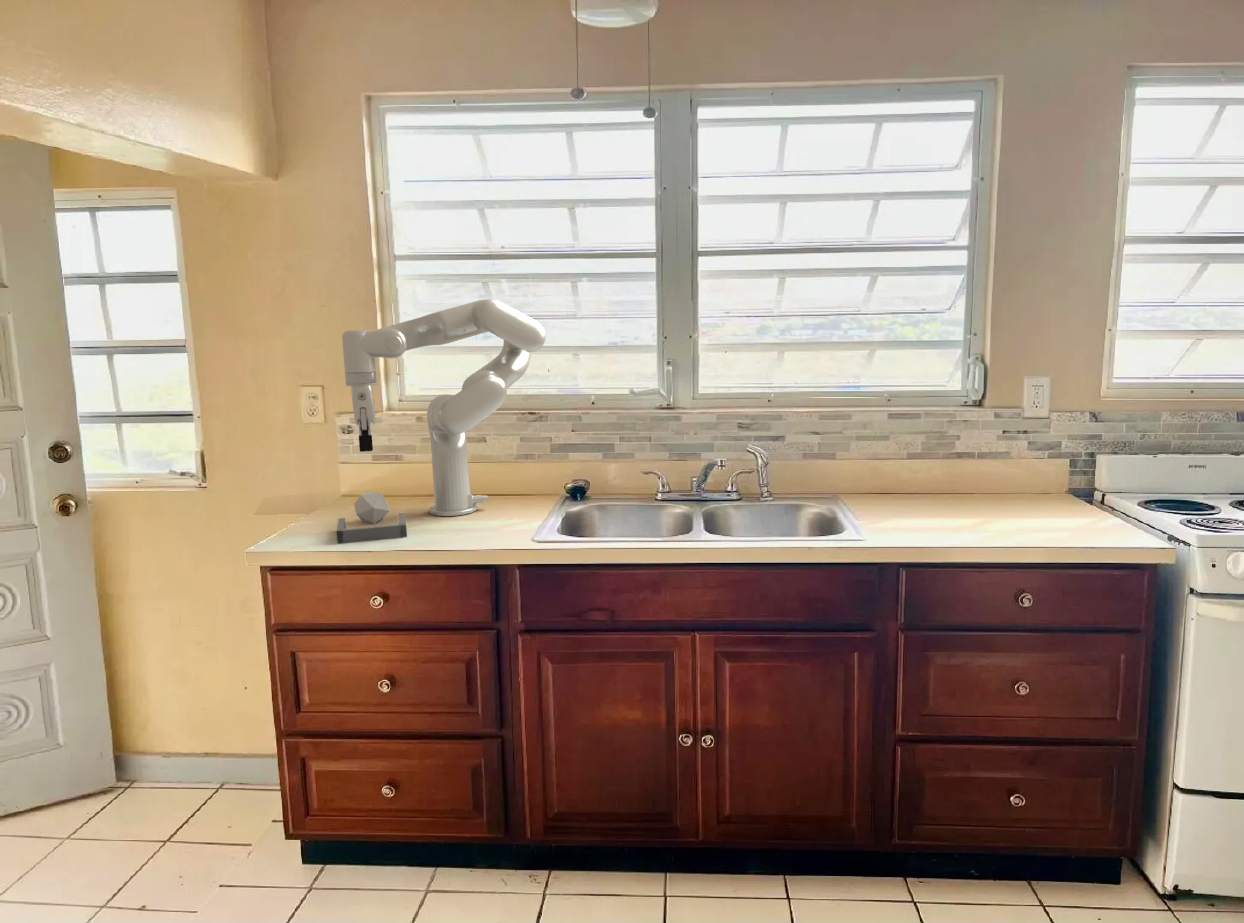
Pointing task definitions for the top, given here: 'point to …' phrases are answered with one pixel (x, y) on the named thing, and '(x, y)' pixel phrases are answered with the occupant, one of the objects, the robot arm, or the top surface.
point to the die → (371, 507)
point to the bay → (371, 531)
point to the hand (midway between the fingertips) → (366, 450)
